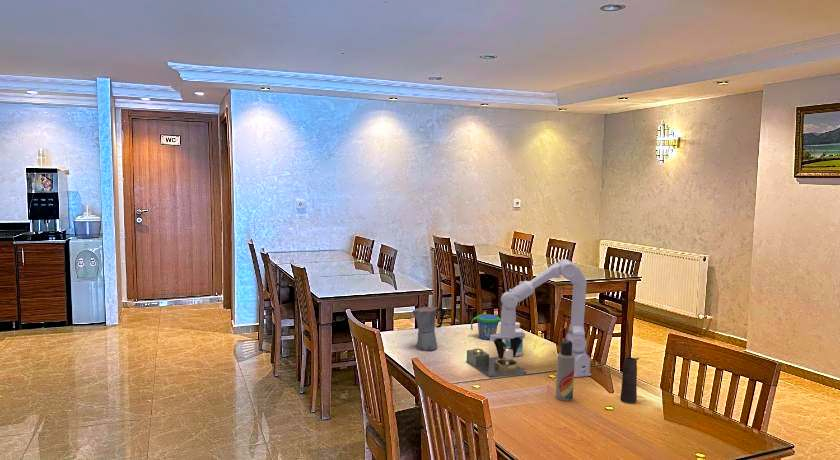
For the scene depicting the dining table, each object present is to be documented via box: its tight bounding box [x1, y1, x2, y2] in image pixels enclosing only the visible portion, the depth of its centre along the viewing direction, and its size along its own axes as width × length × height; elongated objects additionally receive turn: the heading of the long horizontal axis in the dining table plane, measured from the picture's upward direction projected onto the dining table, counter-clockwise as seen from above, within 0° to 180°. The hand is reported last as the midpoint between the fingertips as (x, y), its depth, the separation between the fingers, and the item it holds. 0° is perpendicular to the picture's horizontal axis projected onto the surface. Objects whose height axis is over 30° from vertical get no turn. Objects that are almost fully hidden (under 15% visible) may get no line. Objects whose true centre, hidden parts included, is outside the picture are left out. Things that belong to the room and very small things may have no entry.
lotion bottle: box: [555, 339, 575, 402], centre depth 202 cm, size 6×6×20 cm
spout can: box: [500, 344, 514, 365], centre depth 231 cm, size 5×5×7 cm
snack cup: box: [470, 313, 501, 340], centre depth 276 cm, size 16×10×10 cm
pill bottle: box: [504, 321, 524, 357], centre depth 252 cm, size 8×7×14 cm
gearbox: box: [466, 348, 528, 379], centre depth 233 cm, size 20×16×6 cm
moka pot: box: [411, 302, 446, 352], centre depth 257 cm, size 10×15×20 cm, turn 115°
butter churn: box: [620, 319, 640, 404], centre depth 201 cm, size 9×10×28 cm
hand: (506, 357), depth 231 cm, fingers closed on spout can, 5 cm apart
